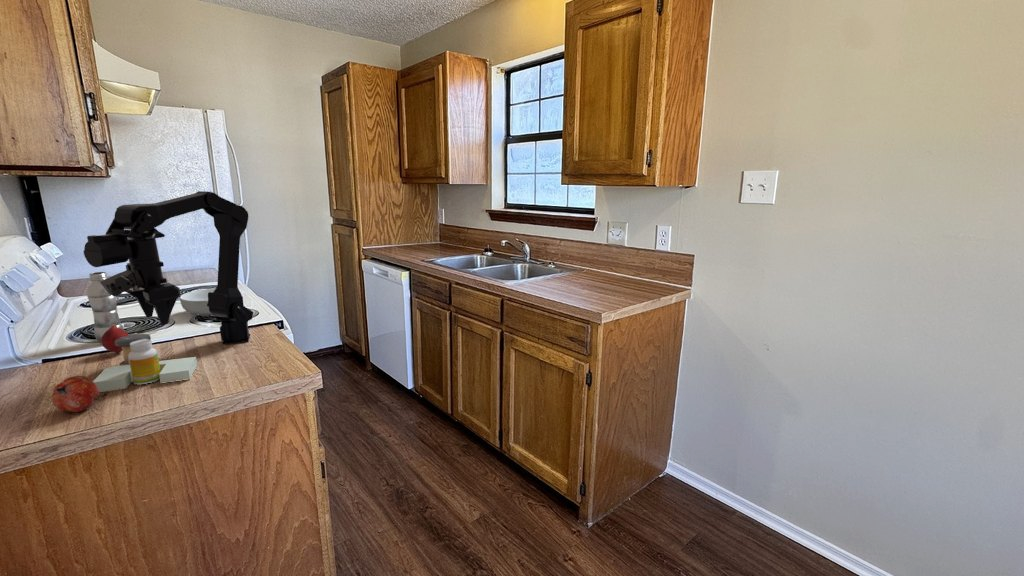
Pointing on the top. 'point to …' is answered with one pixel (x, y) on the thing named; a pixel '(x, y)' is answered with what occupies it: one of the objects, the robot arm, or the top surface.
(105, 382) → the notched board
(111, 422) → the top surface
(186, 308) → the cereal bowl
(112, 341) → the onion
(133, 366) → the supplement bottle
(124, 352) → the spool
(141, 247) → the robot arm
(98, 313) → the plastic bottle
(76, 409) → the pomegranate
